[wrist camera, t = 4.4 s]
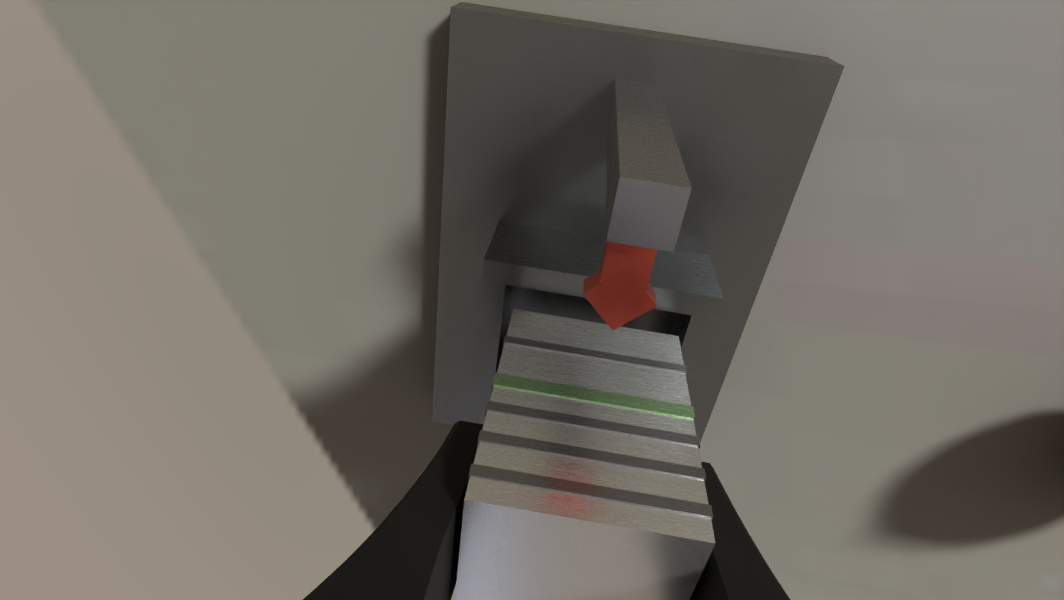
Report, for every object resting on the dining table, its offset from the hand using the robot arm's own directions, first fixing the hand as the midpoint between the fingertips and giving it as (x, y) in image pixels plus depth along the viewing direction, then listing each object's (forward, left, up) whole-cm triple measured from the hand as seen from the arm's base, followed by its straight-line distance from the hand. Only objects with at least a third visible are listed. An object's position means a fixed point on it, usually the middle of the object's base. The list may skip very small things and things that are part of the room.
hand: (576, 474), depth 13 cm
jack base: (+1, +1, -7) cm, 7 cm away
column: (0, 0, -3) cm, 3 cm away
